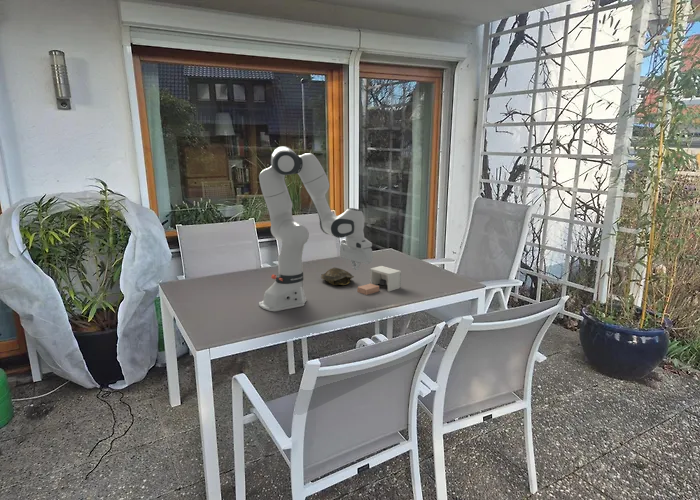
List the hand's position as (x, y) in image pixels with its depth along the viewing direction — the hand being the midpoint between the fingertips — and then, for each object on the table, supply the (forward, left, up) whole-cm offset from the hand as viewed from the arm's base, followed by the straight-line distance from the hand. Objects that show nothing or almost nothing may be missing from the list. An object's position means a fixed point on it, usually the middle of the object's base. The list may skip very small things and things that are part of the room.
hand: (355, 269), depth 215 cm
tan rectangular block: (+9, 0, -14) cm, 16 cm away
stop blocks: (+23, 0, -13) cm, 27 cm away
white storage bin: (+21, 0, -13) cm, 25 cm away
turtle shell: (+8, +24, -14) cm, 29 cm away
